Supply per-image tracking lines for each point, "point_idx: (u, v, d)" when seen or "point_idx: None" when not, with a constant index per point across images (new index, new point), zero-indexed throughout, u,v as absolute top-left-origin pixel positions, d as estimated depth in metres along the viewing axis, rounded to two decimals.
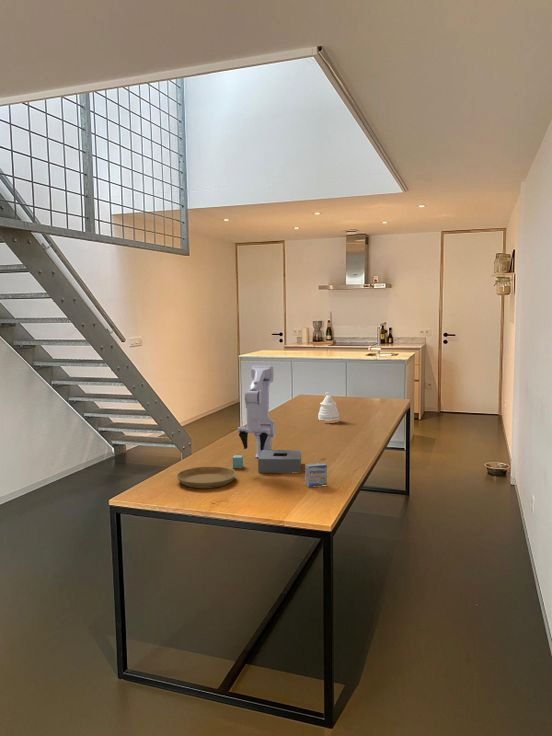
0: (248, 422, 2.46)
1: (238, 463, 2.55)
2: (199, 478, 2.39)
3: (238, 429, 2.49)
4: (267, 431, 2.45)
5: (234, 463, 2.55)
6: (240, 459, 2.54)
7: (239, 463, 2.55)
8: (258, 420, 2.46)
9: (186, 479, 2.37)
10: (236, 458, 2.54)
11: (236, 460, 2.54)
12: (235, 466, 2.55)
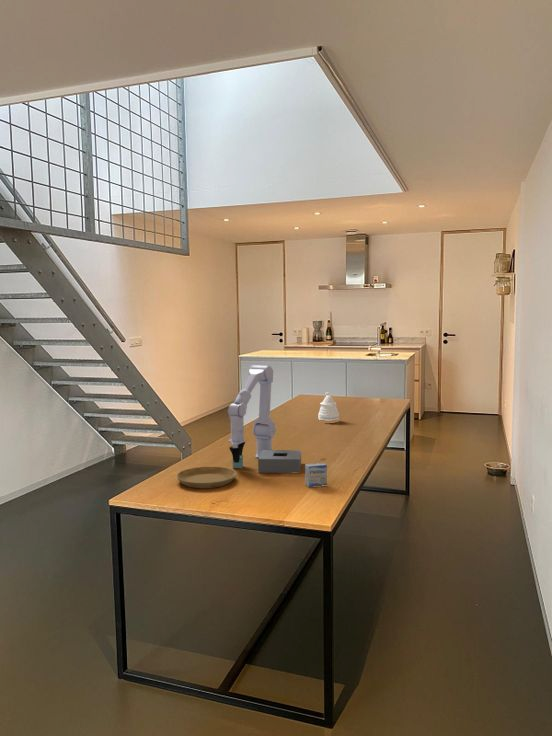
0: None
1: (238, 463, 2.55)
2: (199, 478, 2.39)
3: None
4: None
5: (234, 463, 2.55)
6: (240, 459, 2.54)
7: (239, 463, 2.55)
8: (234, 432, 2.53)
9: (186, 479, 2.37)
10: None
11: None
12: (235, 466, 2.55)
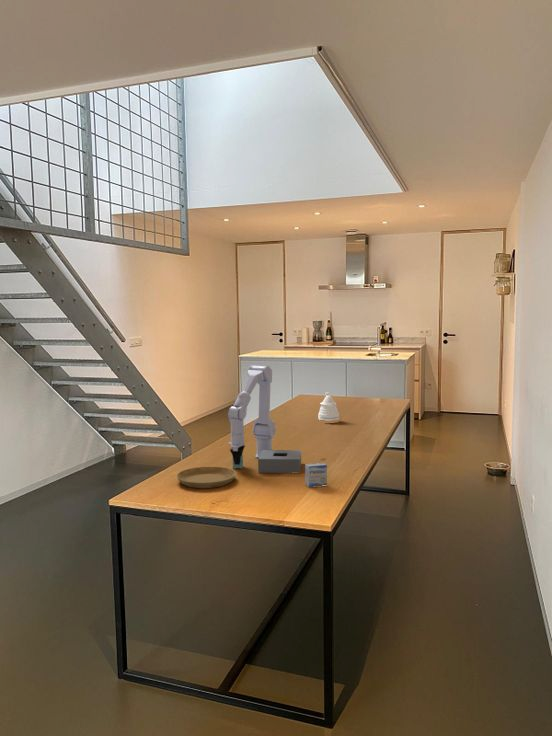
0: None
1: None
2: (199, 478, 2.39)
3: None
4: (233, 448, 2.49)
5: None
6: None
7: None
8: (234, 435, 2.53)
9: (186, 479, 2.37)
10: None
11: None
12: (235, 466, 2.55)
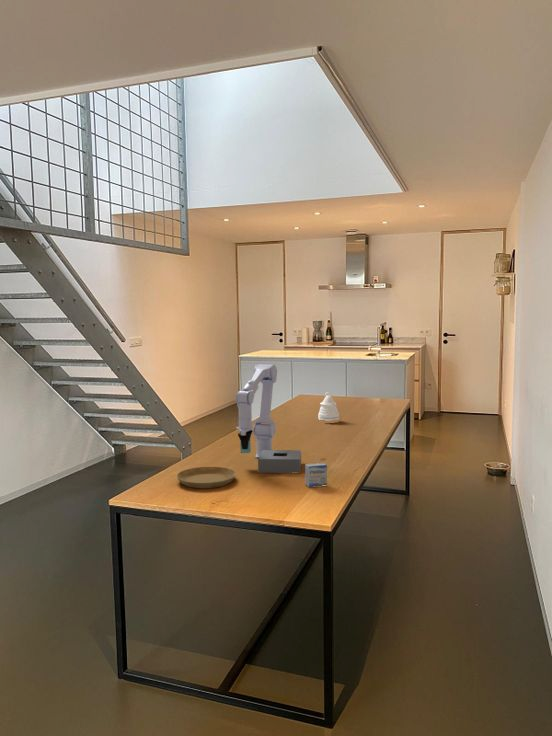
0: None
1: None
2: (199, 478, 2.39)
3: None
4: (240, 432, 2.48)
5: None
6: (248, 443, 2.53)
7: (247, 448, 2.54)
8: (242, 420, 2.52)
9: (186, 480, 2.37)
10: None
11: None
12: (243, 451, 2.54)
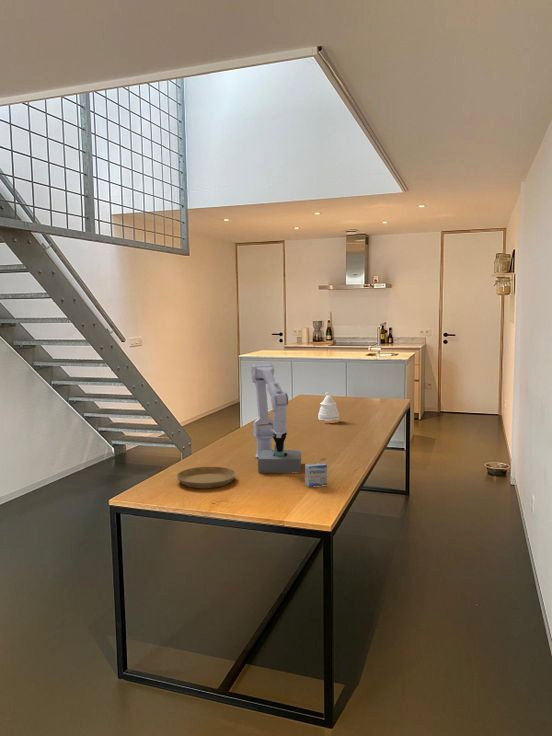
0: None
1: None
2: (199, 478, 2.39)
3: None
4: (276, 435, 2.47)
5: (276, 450, 2.53)
6: None
7: None
8: (277, 422, 2.51)
9: (186, 479, 2.37)
10: None
11: None
12: (277, 454, 2.53)
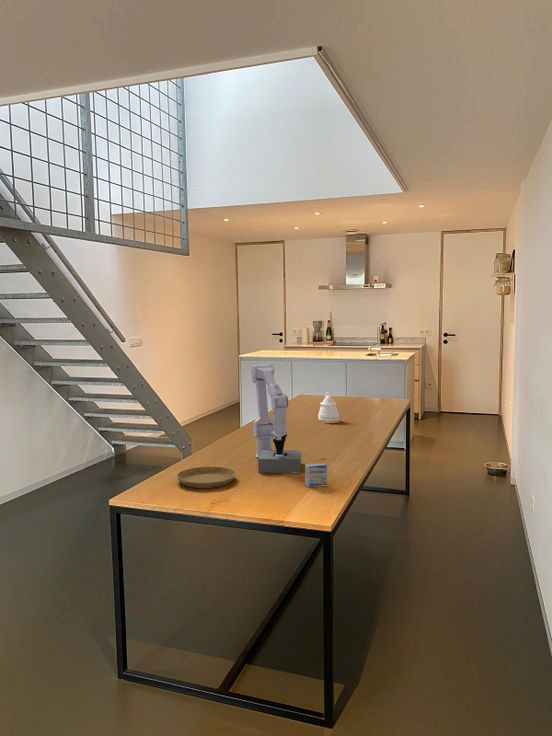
0: None
1: None
2: (199, 478, 2.39)
3: None
4: (276, 437, 2.47)
5: None
6: None
7: None
8: (277, 424, 2.51)
9: (186, 479, 2.37)
10: None
11: None
12: None
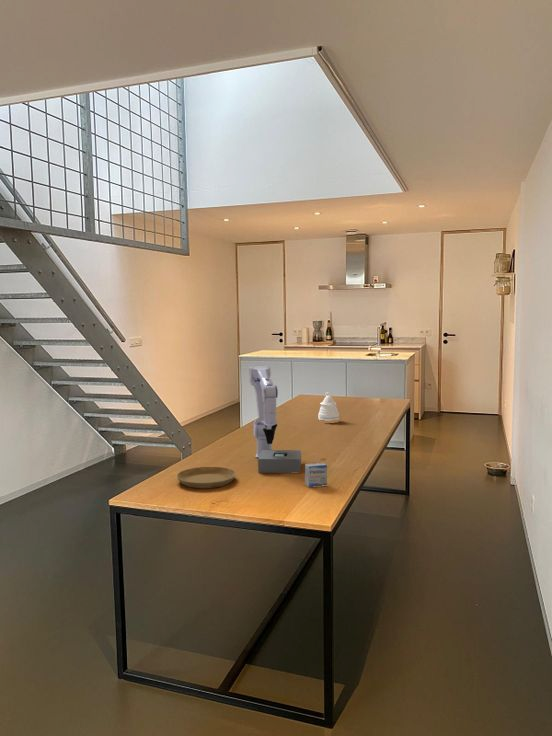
0: None
1: None
2: (199, 478, 2.39)
3: None
4: (266, 426, 2.53)
5: None
6: None
7: None
8: (267, 414, 2.56)
9: (186, 480, 2.37)
10: None
11: None
12: None
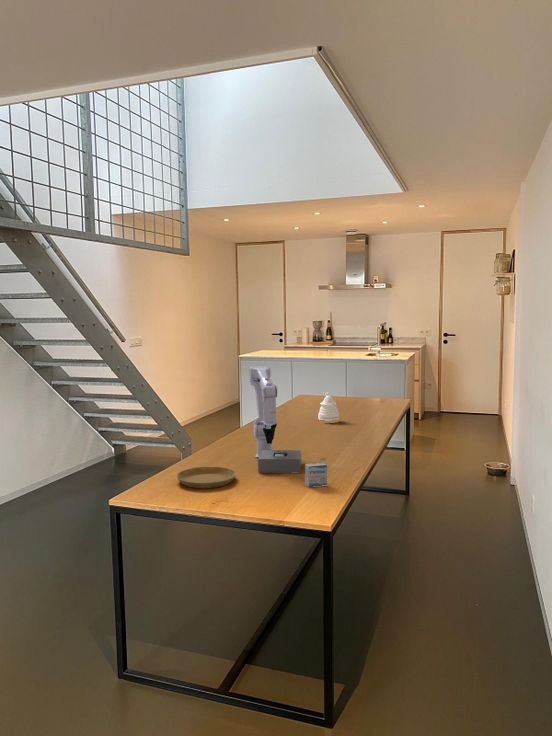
0: None
1: None
2: (199, 478, 2.39)
3: None
4: (266, 426, 2.53)
5: None
6: None
7: None
8: (267, 414, 2.57)
9: (186, 480, 2.37)
10: None
11: None
12: None
